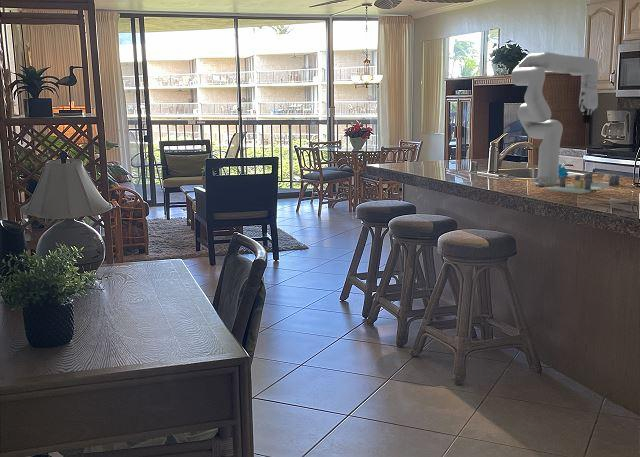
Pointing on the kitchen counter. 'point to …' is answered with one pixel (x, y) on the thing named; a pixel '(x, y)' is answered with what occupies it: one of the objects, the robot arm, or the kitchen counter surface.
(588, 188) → the spacer board
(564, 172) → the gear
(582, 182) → the nut
